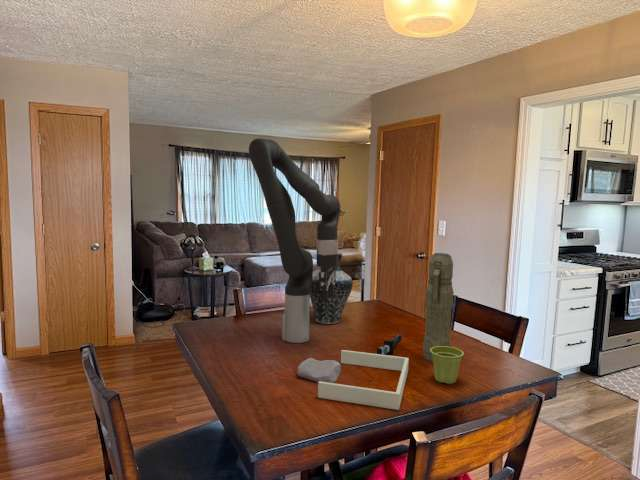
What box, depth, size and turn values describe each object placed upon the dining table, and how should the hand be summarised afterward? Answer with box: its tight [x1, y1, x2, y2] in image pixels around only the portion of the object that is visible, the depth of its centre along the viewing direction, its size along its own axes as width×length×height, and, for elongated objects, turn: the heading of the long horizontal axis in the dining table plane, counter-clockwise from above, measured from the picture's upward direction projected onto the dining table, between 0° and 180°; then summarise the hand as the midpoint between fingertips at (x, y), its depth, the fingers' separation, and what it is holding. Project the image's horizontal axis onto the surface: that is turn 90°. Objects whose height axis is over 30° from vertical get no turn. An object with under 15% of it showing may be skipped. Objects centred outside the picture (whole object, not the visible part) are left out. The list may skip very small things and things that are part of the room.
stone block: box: [296, 357, 342, 383], centre depth 130 cm, size 12×5×10 cm
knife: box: [376, 333, 403, 355], centre depth 153 cm, size 31×3×4 cm, turn 152°
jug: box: [310, 251, 354, 325], centre depth 186 cm, size 21×19×30 cm
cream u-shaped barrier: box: [317, 349, 410, 411], centre depth 125 cm, size 21×27×4 cm
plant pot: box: [430, 346, 465, 385], centre depth 128 cm, size 9×9×9 cm
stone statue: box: [422, 252, 454, 363], centre depth 145 cm, size 9×12×35 cm
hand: (327, 298), depth 154 cm, fingers open, 8 cm apart
